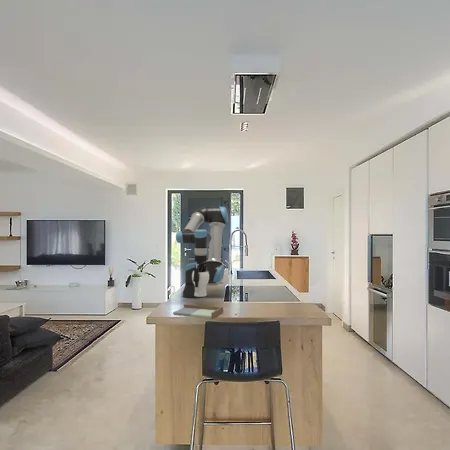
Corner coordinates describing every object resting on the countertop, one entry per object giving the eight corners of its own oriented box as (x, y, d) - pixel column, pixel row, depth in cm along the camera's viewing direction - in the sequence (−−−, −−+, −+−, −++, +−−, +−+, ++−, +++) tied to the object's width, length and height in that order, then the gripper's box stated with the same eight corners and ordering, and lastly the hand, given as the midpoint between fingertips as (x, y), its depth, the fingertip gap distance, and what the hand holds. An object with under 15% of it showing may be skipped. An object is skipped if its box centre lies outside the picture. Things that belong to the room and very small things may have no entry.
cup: (192, 297, 257) (193, 272, 256) (190, 294, 267) (190, 270, 267) (210, 297, 259) (210, 272, 258) (207, 293, 269) (207, 269, 269)
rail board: (184, 309, 255) (184, 304, 255) (222, 312, 247) (222, 307, 247) (173, 314, 240) (173, 309, 240) (213, 318, 232) (213, 312, 232)
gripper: (201, 252, 274) (201, 286, 275) (187, 256, 252) (187, 293, 253) (212, 253, 272) (212, 287, 273) (199, 257, 250) (199, 294, 251)
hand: (200, 290), depth 263 cm, fingers closed on cup, 11 cm apart
